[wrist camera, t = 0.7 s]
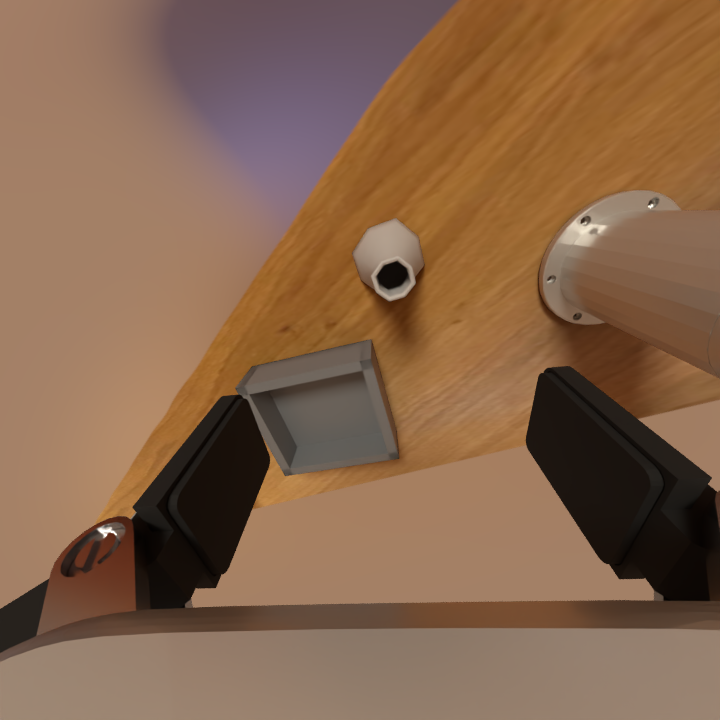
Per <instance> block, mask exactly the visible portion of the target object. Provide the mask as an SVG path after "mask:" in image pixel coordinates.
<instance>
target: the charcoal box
mask: <svg viewBox="0 0 720 720" xmlns="http://www.w3.org/2000/svg"><path fill="white" fill-rule="evenodd" d="M235 389H236V390H237V392H238V394H239V395H241V396H242V397H243V398H245V399H247V400H248V401H249V403H250V406H251V409H252V411H253V414H254V417H255V419H256V422H257V424H258V427H259V430H260V432H261V434H262V436H263V438H264V440H265V441H266V443H267V445H268V447H269V448H270V450H271V452H272V454H273V456H274V457H275V459H276V461H277V463H278V464H279V466H280V468H281V470H282V471H283V473H284V475H285V476H289V475H295V474H302V473H309V472H315V471H322V470H328V469H335V468H341V467H348V466H354V465H361V464H367V463H374V462H380V461H387V460H393V459H399V450H398V439H397V431H396V427H395V423H394V420H393V416H392V413H391V409H390V405H389V402H388V398H387V394H386V391H385V387H384V384H383V380H382V376H381V373H380V369H379V365H378V362H377V358H376V355H375V351H374V347H373V344H372V340H371V339H370V340H366V341H362V342H357V343H353V344H349V345H344V346H340V347H335V348H331V349H327V350H322V351H318V352H314V353H309V354H305V355H301V356H296V357H292V358H287V359H283V360H279V361H274V362H270V363H266V364H261V365H257V366H252V367H251V369H250V370H249V371H248V372H247V374H246V375H245V376H244V378H243V379H242V380H241V381H240V383H239V384H238V385H237V386H236V388H235Z"/></svg>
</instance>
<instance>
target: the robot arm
mask: <svg viewBox="0 0 720 720" xmlns="http://www.w3.org/2000/svg"><path fill="white" fill-rule="evenodd" d="M581 219H582V221H581ZM548 277H549V278H548ZM547 278H548V279H547ZM539 288H540V294H541V296H542V299H543V301H544V303H545V304H546V306H547V307H548V308H549V310H551V311H552V312H553V313H554V314H555V315H557V316H558V317H560V318H562V319H564V320H566V321H568V322H571V323H574V324H582V325H595V324H602V323H608V324H610V325H612V326H614V327H616V328H618V329H620V330H622V331H624V332H626V333H628V334H630V335H632V336H634V337H636V338H638V339H640V340H642V341H644V342H647V343H649V344H651V345H653V346H655V347H657V348H659V349H661V350H663V351H665V352H667V353H669V354H671V355H673V356H675V357H677V358H679V359H681V360H683V361H685V362H687V363H689V364H691V365H693V366H695V367H697V368H699V369H701V370H703V371H705V372H707V373H710V374H712V375H714V376H716V377H718V378H720V211H716V210H681V209H680V207H679V206H678V205H677V204H676V203H675V202H674V201H673V200H672V199H670V198H669V197H667V196H665V195H663V194H661V193H657V192H653V191H642V190H635V191H625V192H619V193H616V194H612V195H608V196H606V197H603V198H601V199H599V200H597V201H595V202H593V203H591V204H589V205H588V206H586V207H585V208H583V209H582V210H580V211H579V212H578V213H576V214H575V215H574V216H573V217H572V218H571V219H570V220H568V221H567V222H566V223H565V224H564V226H563V227H562V228H561V229H560V230H559V231H558V232H557V234H556V235H555V237H554V238H553V240H552V241H551V243H550V244H549V246H548V248H547V250H546V252H545V255H544V257H543V259H542V263H541V267H540V271H539ZM526 445H527V448H528V450H529V451H530V453H531V455H532V456H533V458H534V459H535V461H536V462H537V464H538V465H539V467H540V468H541V470H542V472H543V473H544V475H545V476H546V478H547V479H548V481H549V482H550V483H551V485H552V487H553V488H554V490H555V491H556V493H557V494H558V496H559V497H560V499H561V501H562V502H563V504H564V505H565V507H566V508H567V510H568V511H569V513H570V514H571V516H572V517H573V519H574V520H575V522H576V524H577V525H578V527H579V528H580V530H581V531H582V533H583V534H584V536H585V537H586V539H587V540H588V542H589V543H590V545H591V546H592V548H593V549H594V551H595V553H596V554H597V555H598V557H599V558H600V559H601V560H602V561H603V562H604V563H606V564H609V565H610V566H611V568H612V569H613V570H614V572H615V574H616V575H617V576H618V578H619V579H644V578H646V580H647V581H648V582H649V583H650V585H651V586H652V588H653V589H654V601H629V600H626V601H625V600H622V601H621V600H615V601H614V600H609V601H607V600H606V601H513V602H440V603H376V604H375V603H374V604H322V605H321V604H318V605H273V606H228V607H199V608H193V606H192V601H191V597H192V595H193V593H194V590H195V588H216V586H217V584H218V581H219V579H220V577H221V574H224V573H225V572H226V571H227V569H228V568H229V566H230V563H231V561H232V558H233V556H234V553H235V551H236V548H237V546H238V543H239V541H240V538H241V536H242V533H243V531H244V528H245V526H246V523H247V520H248V518H249V516H250V513H251V511H252V508H253V505H254V503H255V500H256V498H257V495H258V493H259V490H260V488H261V485H262V483H263V480H264V478H265V475H266V473H267V470H268V468H269V464H270V456H269V453H268V451H267V448H266V445H265V443H264V440H263V437H262V435H261V432H260V430H259V427H258V424H257V422H256V419H255V417H254V414H253V411H252V409H251V406H250V403H249V401H248V400H247V399H245V398H243V397H242V396H241V395H229V396H222V397H221V398H220V399H219V400H218V401H217V402H216V404H215V405H214V406H213V407H212V409H211V410H210V411H209V412H208V414H207V415H206V416H205V417H204V419H203V420H202V421H201V422H200V424H199V425H198V426H197V427H196V429H195V430H194V431H193V432H192V434H191V435H190V436H189V437H188V439H187V440H186V441H185V442H184V444H183V445H182V446H181V447H180V449H179V450H178V451H177V452H176V454H175V455H174V456H173V457H172V458H171V460H170V461H169V462H168V463H167V465H166V466H165V467H164V468H163V470H162V471H161V472H160V473H159V475H158V476H157V477H156V478H155V480H154V481H153V482H152V483H151V485H150V486H149V487H148V488H147V490H146V491H145V492H144V493H143V495H142V496H141V497H140V498H139V500H138V501H137V502H136V503H135V505H134V506H133V509H134V510H135V511H136V512H137V513H136V514H135V515H134V517H133V518H132V519H129V518H128V517H125V516H117V517H113V518H109V519H106V520H104V521H102V522H100V523H97V524H96V525H94V526H92V527H91V528H89V529H88V530H86V531H84V533H82V534H81V535H80V536H78V537H77V538H76V539H75V540H74V541H72V542H71V543H70V544H69V545H68V547H67V548H66V549H65V550H64V551H63V552H62V553H61V555H60V556H59V557H58V559H57V560H56V562H55V563H54V566H53V568H52V571H51V574H50V578H49V579H48V580H46V581H45V582H43V583H41V584H40V585H38V586H37V587H35V588H33V589H32V590H30V591H28V592H27V593H25V594H24V595H22V596H20V597H19V598H17V599H16V600H14V601H12V602H11V603H9V604H8V605H6V606H4V607H3V608H1V609H0V720H720V491H718V492H717V491H715V490H714V489H713V488H711V487H710V486H709V485H708V483H709V482H710V480H711V479H712V477H710V476H709V475H708V474H706V473H705V472H704V471H703V470H701V469H700V468H699V467H698V466H696V465H695V464H694V463H693V462H691V461H690V460H689V459H687V458H686V457H685V456H684V455H682V454H681V453H680V452H679V451H677V450H676V449H674V448H673V447H672V446H671V445H670V444H668V443H667V442H666V441H665V440H663V439H662V438H661V437H660V436H658V435H657V434H656V433H654V432H653V431H652V430H651V429H649V428H648V427H647V426H645V425H644V424H643V423H642V422H640V421H639V420H638V419H637V418H635V417H634V416H633V415H632V414H630V413H629V412H628V411H626V410H625V409H624V408H623V407H621V406H620V405H619V404H618V403H616V402H615V401H614V400H612V399H611V398H610V397H609V396H607V395H606V394H605V393H604V392H602V391H601V390H600V389H599V388H597V387H596V386H595V385H593V384H592V383H591V382H590V381H588V380H587V379H586V378H585V377H583V376H582V375H581V374H579V373H578V372H577V371H576V370H574V369H573V368H572V367H570V366H564V367H552V368H547V369H546V370H545V371H544V373H541V374H540V375H539V377H538V381H537V386H536V391H535V396H534V401H533V406H532V411H531V416H530V421H529V426H528V431H527V436H526Z"/></svg>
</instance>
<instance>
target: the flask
mask: <svg viewBox="0 0 720 720" xmlns="http://www.w3.org/2000/svg"><path fill="white" fill-rule="evenodd" d="M352 255H353V258H354V261H355V264H356V267H357V270H358V273H359V276H360V279H361V281H363V282H364V283H366V284H367V285H368V286H370V287H371V288H373V289H374V290H375V291H376V293H377V294H379V295H380V296H382V297H383V298H384V299H386V300H387V301H389V302H391V301H394V300H397V299H401V298H404V297H406V296H407V294H408V293H409V292H410V290H411V289H412V288H413V287H414V285H415V284H416V281H415V277H416V275H417V274H418V273H419V271H420V270H421V269H422V268H423V266H424V265H425V264H424V260H423V255H422V250H421V246H420V241H419V237H418V236H417V235H416V234H415V233H414V232H412V231H411V230H410V229H409V228H407V227H406V226H405V225H404V224H402V223H401V222H400V221H399V220H397V219H396V218H395V219H392V220H390V221H387V222H384V223H381V224H379V225H376V226H373V227H370V228H368V229H367V231H366V232H365V234H364V235H363V237H362V238H361V240H360V242H359V243H358V245H357V246H356V248H355V249H354V251H353V252H352Z"/></svg>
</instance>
